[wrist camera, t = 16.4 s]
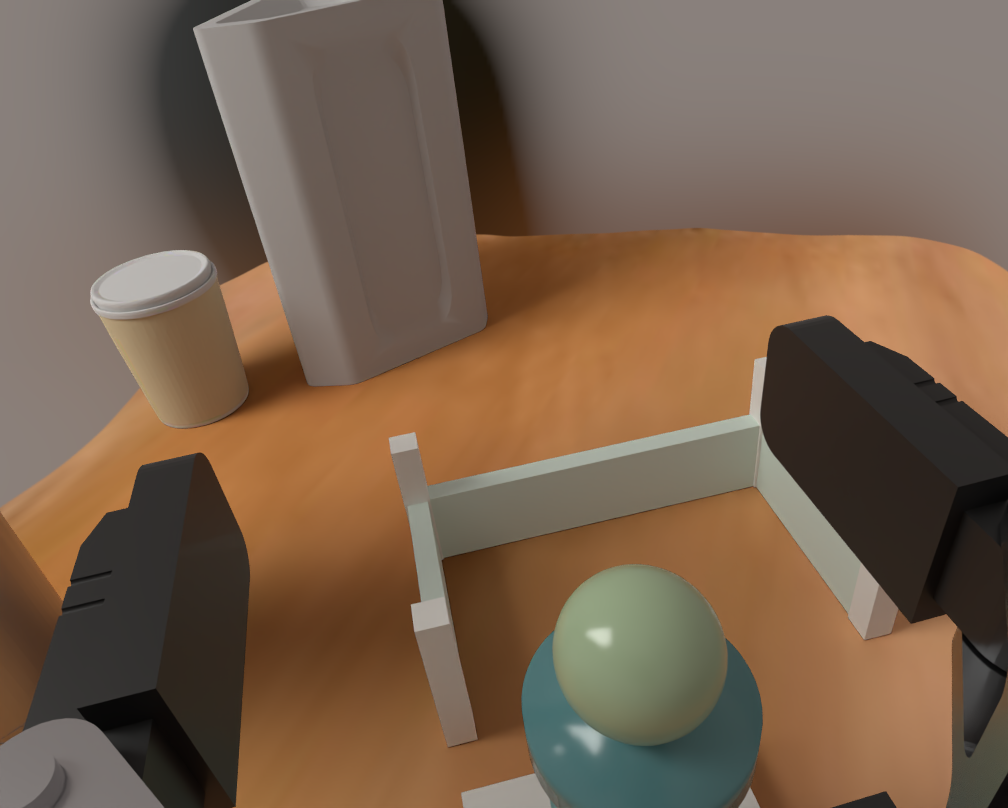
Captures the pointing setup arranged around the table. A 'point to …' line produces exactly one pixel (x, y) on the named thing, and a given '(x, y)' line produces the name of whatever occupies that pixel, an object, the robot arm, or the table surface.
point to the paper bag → (352, 175)
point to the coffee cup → (174, 335)
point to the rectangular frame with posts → (598, 497)
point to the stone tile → (531, 795)
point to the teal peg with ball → (641, 699)
